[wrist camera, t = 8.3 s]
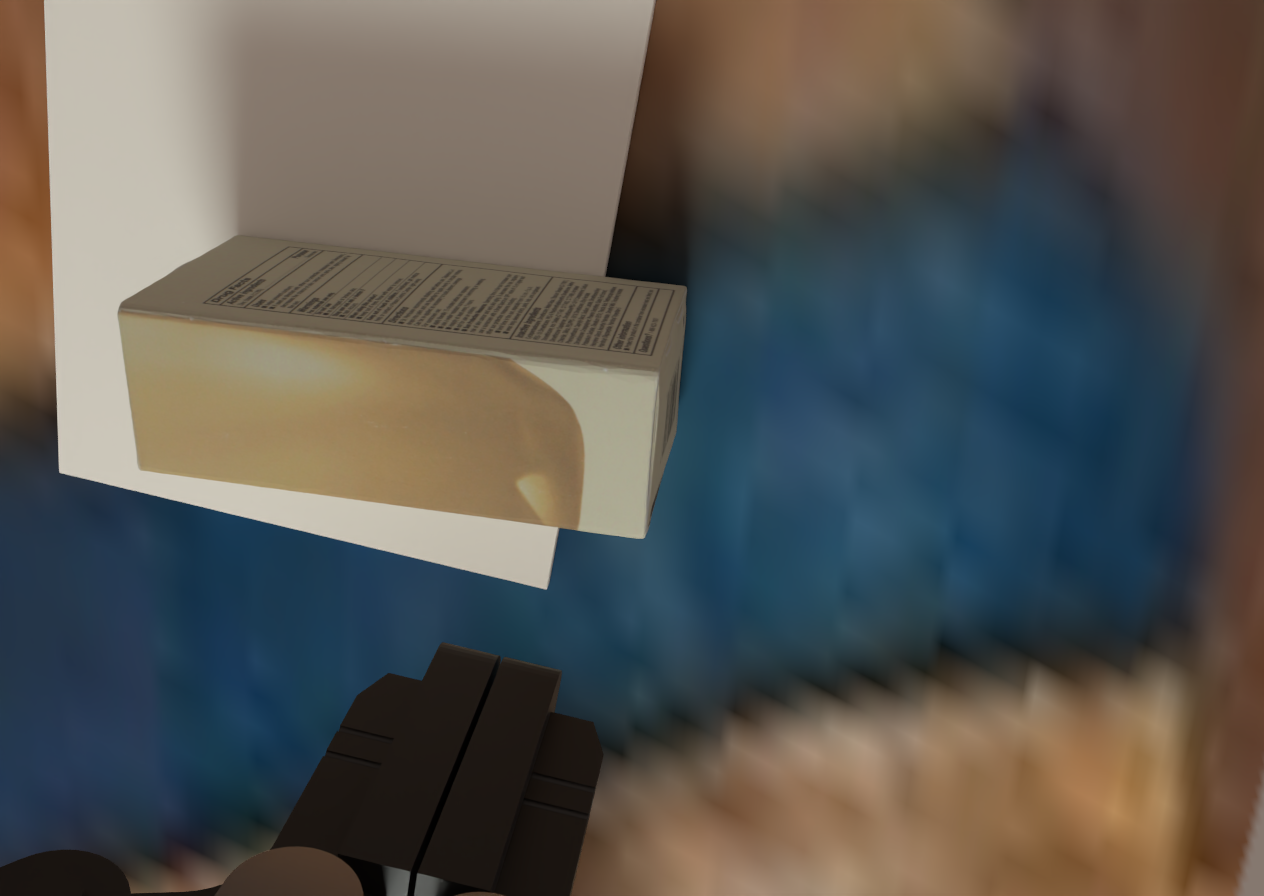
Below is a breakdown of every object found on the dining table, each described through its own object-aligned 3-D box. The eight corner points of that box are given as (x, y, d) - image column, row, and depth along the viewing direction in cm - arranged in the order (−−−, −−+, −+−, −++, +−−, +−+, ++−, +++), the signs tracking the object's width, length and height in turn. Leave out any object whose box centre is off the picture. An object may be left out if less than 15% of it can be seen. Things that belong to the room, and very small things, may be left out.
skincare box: (680, 435, 32) (251, 378, 34) (695, 281, 30) (240, 227, 32) (644, 553, 26) (127, 478, 28) (659, 371, 25) (105, 301, 26)
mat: (66, 466, 36) (59, 472, 36) (44, -300, 27) (34, -303, 27) (549, 582, 35) (546, 589, 35) (686, -168, 26) (684, -169, 26)
